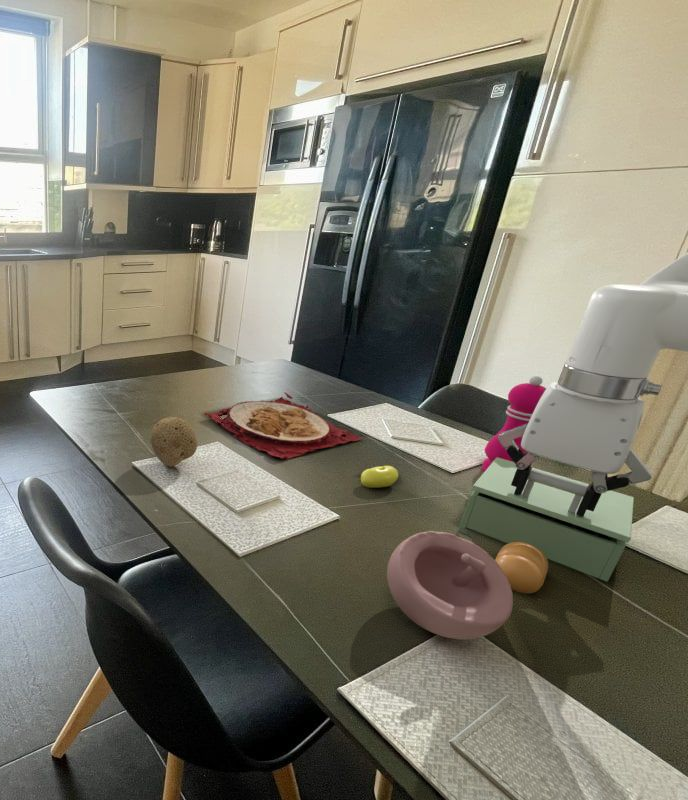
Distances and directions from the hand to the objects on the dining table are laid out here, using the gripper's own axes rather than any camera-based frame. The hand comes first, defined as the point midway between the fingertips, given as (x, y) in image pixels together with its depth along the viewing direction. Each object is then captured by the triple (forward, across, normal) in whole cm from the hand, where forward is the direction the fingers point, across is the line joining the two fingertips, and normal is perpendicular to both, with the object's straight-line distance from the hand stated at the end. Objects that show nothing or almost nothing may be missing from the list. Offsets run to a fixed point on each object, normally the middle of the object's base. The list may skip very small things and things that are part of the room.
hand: (548, 500), depth 69 cm
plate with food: (+9, +46, -13) cm, 49 cm away
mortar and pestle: (+9, +5, +26) cm, 28 cm away
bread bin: (+9, 0, -6) cm, 11 cm away
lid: (+2, 0, -6) cm, 6 cm away
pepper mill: (+9, +8, -27) cm, 30 cm away
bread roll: (+9, 0, +10) cm, 13 cm away
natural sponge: (+9, +52, +20) cm, 56 cm away
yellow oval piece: (+9, +22, -3) cm, 24 cm away
